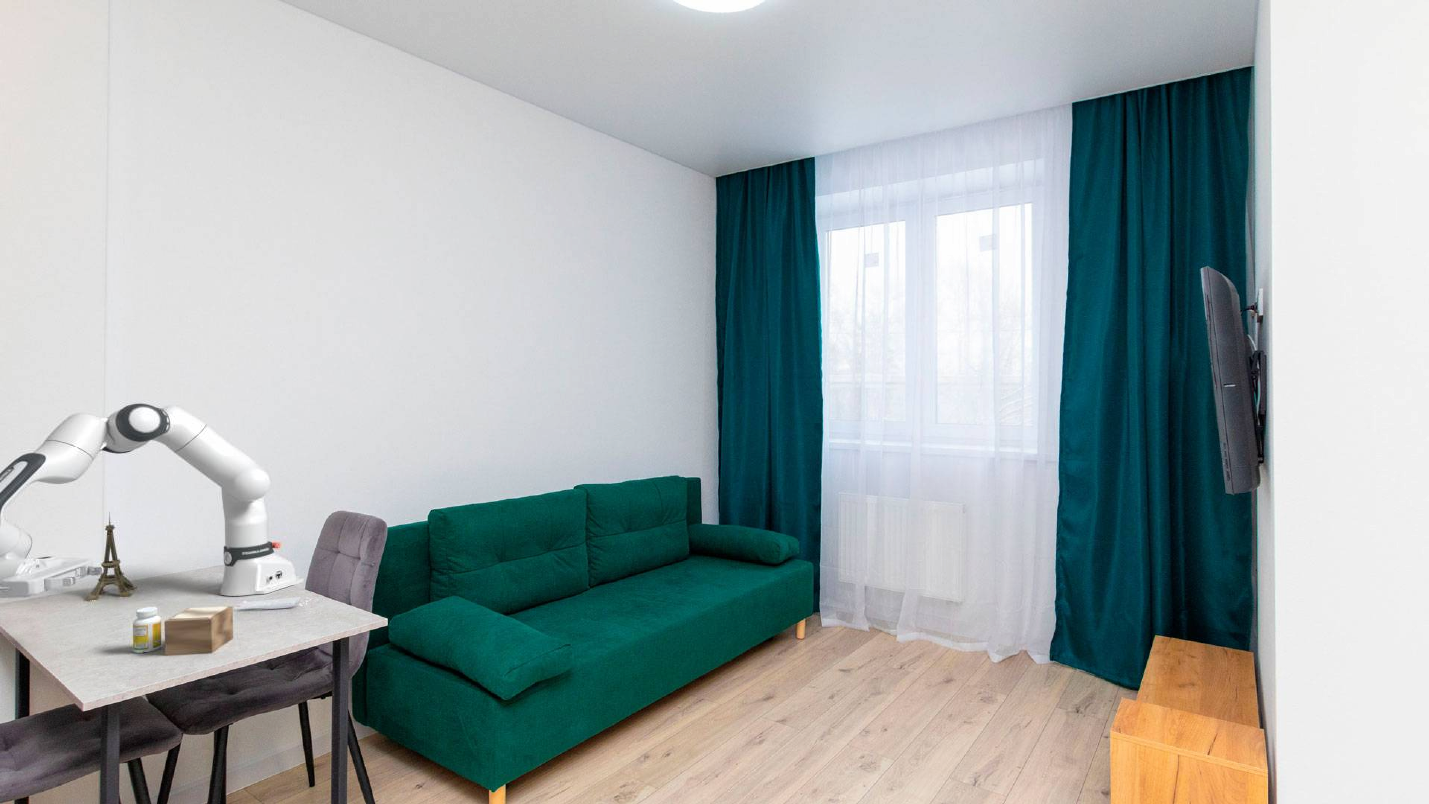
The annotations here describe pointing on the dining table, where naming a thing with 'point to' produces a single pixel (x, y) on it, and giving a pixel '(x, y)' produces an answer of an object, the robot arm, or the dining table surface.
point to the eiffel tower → (118, 577)
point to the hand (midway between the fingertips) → (87, 576)
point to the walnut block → (198, 630)
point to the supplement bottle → (146, 630)
